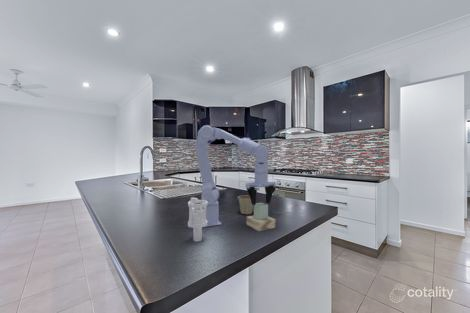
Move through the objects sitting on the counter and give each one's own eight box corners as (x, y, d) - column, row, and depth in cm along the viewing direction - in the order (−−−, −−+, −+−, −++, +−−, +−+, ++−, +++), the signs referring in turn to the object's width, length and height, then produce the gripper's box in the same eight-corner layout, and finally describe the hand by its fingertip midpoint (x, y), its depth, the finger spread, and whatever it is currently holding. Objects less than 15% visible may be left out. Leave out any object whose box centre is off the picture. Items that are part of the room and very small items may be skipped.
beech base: (258, 232, 82) (258, 222, 82) (246, 225, 90) (246, 216, 90) (275, 228, 86) (275, 219, 86) (262, 222, 94) (262, 213, 94)
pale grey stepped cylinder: (198, 234, 78) (199, 196, 78) (211, 239, 74) (211, 198, 74) (183, 240, 73) (184, 198, 73) (196, 245, 68) (196, 201, 68)
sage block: (259, 219, 85) (259, 205, 85) (253, 217, 89) (253, 203, 89) (268, 218, 87) (268, 204, 87) (262, 215, 91) (262, 202, 91)
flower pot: (248, 216, 102) (248, 199, 101) (234, 213, 107) (234, 197, 107) (258, 212, 109) (258, 196, 109) (244, 209, 115) (244, 194, 115)
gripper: (251, 174, 81) (251, 207, 81) (280, 173, 87) (279, 204, 87) (243, 172, 87) (243, 203, 88) (270, 171, 94) (270, 200, 94)
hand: (260, 203), depth 88 cm, fingers open, 7 cm apart
